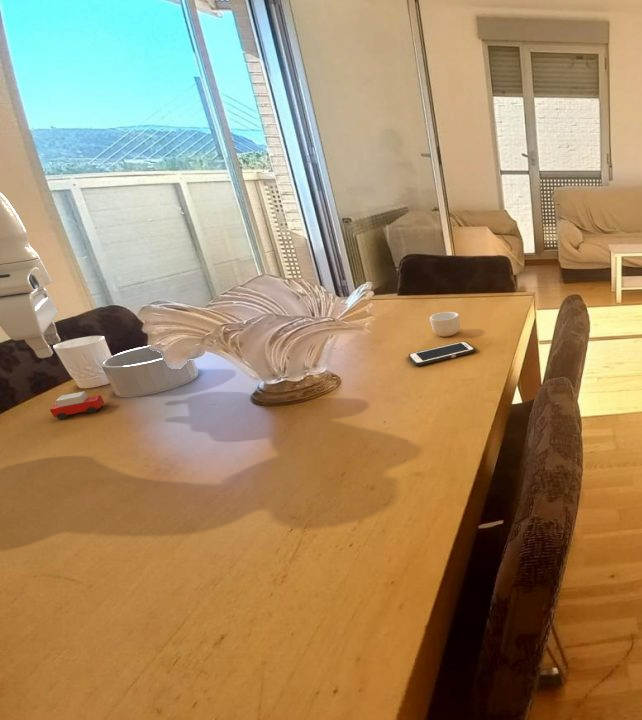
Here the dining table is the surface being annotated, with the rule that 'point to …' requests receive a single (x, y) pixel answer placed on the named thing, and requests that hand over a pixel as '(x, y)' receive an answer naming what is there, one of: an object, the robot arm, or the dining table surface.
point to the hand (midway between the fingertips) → (50, 349)
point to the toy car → (75, 404)
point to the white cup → (85, 360)
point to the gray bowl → (144, 373)
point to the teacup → (445, 323)
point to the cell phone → (441, 353)
